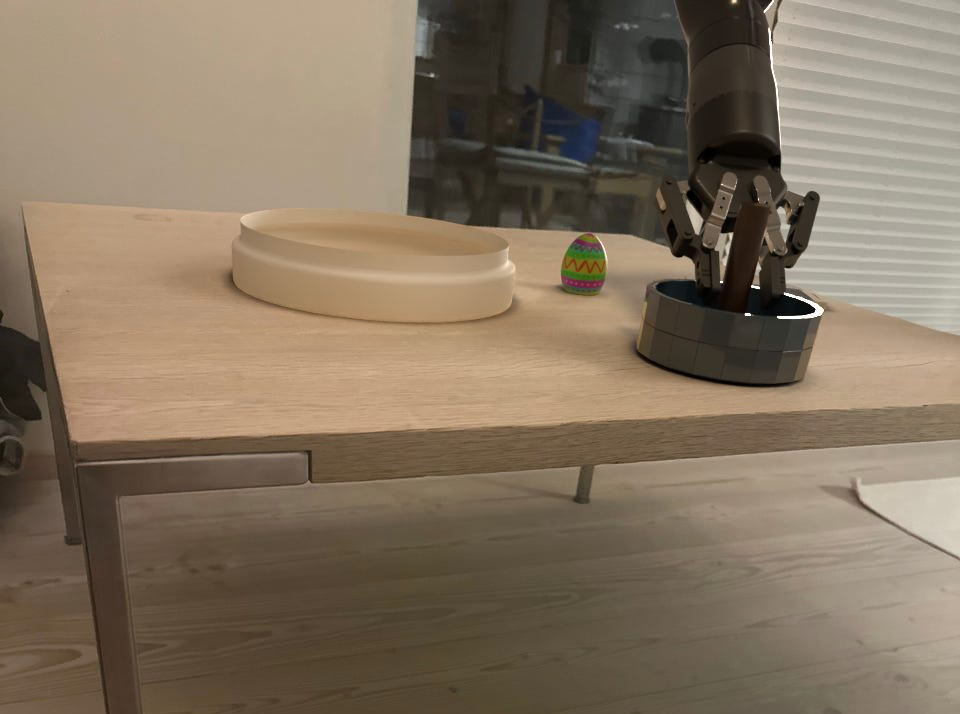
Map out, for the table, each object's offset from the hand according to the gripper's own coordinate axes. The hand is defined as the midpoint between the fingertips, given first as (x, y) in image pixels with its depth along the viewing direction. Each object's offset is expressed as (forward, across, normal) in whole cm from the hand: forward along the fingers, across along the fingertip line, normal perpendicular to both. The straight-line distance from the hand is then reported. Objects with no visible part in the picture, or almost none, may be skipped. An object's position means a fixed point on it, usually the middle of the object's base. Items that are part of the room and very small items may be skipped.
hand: (741, 301), depth 74 cm
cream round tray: (-10, -30, +18) cm, 36 cm away
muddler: (+2, 0, +5) cm, 5 cm away
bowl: (+3, 0, +5) cm, 6 cm away
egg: (-16, -8, +24) cm, 30 cm away
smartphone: (-20, +14, +28) cm, 38 cm away
